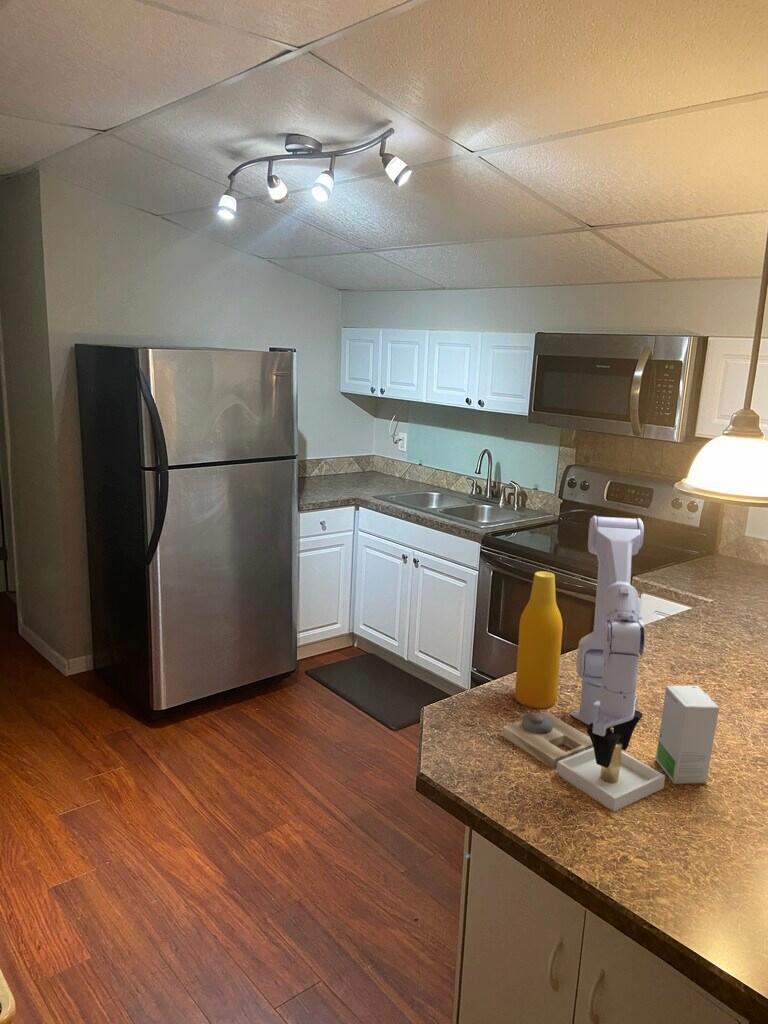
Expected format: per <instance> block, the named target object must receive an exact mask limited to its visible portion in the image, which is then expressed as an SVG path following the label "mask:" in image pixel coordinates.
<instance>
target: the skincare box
mask: <svg viewBox="0 0 768 1024" xmlns="http://www.w3.org/2000/svg"><path fill="white" fill-rule="evenodd" d="M662 706H663V707H662V714H661V720H660V728H659V734H658V741H657V746H656V753H655V761H656V762H657V763H658V764H659V766H660V767H661V769H662V770H663V771H664V773H666V774H665V775H667V776H668V778H669V780H671V782H672V783H673V784H675V785H677V784H684V785H685V784H706V783H707V780H708V776H709V775H708V774H709V770H710V763H711V757H712V753H713V746H714V739H715V734H716V728H717V723H718V719H719V718H718V717H719V711H720V706H719V705H718V704H716V703H715V701H713V699H711V696H710V695H709V694H707V693H706V692H705V691H703V690H702V688H701V687H700V686H699V685H666V686H665V692H664V701H663V705H662Z"/></svg>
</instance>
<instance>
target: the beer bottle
mask: <svg viewBox="0 0 768 1024" xmlns="http://www.w3.org/2000/svg"><path fill="white" fill-rule="evenodd" d="M556 596H557V595H556V577H555V573H552V572H549V571H544V570H543V571H542V570H541V571H536V572H535V573H534V576H533V582H532V586H531V593H530V597H529V600H528V602H527V604H526V606H525V607H524V609H523V610H522V613H521V615H520V619H519V628H518V629H519V630H518V631H519V632H518V646H517V658H516V660H517V661H516V673H515V685H514V695H515V699H516V700H517V702H518V703H519V704H522V705H523V706H524V707H528V708H533V709H547V708H551V707H553V706H554V705H555V704H556V703H557V700H558V694H559V691H558V690H559V689H558V688H559V677H560V675H559V674H560V665H561V663H560V662H561V651H562V639H563V619H562V616H561V612H560V610H559V608H558V605H557V599H556Z"/></svg>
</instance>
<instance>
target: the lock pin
mask: <svg viewBox="0 0 768 1024" xmlns="http://www.w3.org/2000/svg"><path fill="white" fill-rule="evenodd" d="M622 751H623V750H622V743H621V742H620V741H618V742H617V744H616V746H615V748H614V751H613V755H612V759H611V763H610V765H609V767H608V768H606V767H603V766H601V772H600V778H601V780H603V781H604V782H607V783H617V782H618V780H619V770H620V761H621V752H622Z"/></svg>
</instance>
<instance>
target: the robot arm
mask: <svg viewBox="0 0 768 1024" xmlns="http://www.w3.org/2000/svg"><path fill="white" fill-rule="evenodd" d="M644 531H645V527H644V523H643V521H642V519H641V518H639V517H637V518H629V517H627V518H626V517H609V516H597V515H593V516H592V517H591V518H589V525H588V540H587V549H588V552H589V553H590V554H592V555H595V556H596V558H597V562H598V568H597V569H598V570H597V581H596V582H597V583H596V594H595V595H596V596H595V607H594V621H593V622H594V623H593V631H592V632H590V633H589V634H587V635H585V636H583V637H582V638H581V639H580V640H579V641H578V647H577V648H578V649H577V653H576V674H577V675H578V677H580V678H582V679H581V690H580V691H581V692H580V701H579V704H580V705H579V709H577V710H573V711H570V716H571V717H574V718H575V719H577V720H578V721H580V722H582V723H583V724H585V725H587V726H586V733H587V736H589V737H590V739H591V741H592V744H593V747H594V752H595V758H596V763H597V764H598V765H600V766H603V767H606V768H608V767H609V765H610V763H611V759H612V755H613V751H614V748H615V746H616V744H617V742H618V741H620V742H621V743H622V751H626V750H627V749H628V747H629V744H630V742H631V739H632V735H633V733H634V731H635V729H636V727H637V725H638V723H639V722H640V721H641V719H642V718H643V713H642V712H641V711H640V710H636V708H637V707H638V696H636V691H637V690H636V689H637V680H638V671H639V664H640V663H639V662H640V656H643V654H644V650H645V646H646V629H645V623H644V622H643V618H642V616H640V608H639V607H640V605H639V592H638V590H637V589H636V588H635V587H634V586H633V585H631V582H632V581H631V579H632V578H631V577H632V556H635V555H637V554H638V553H639V550H640V549H641V548H642V547H643V542H644V533H645V532H644ZM612 728H613V729H612Z"/></svg>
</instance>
